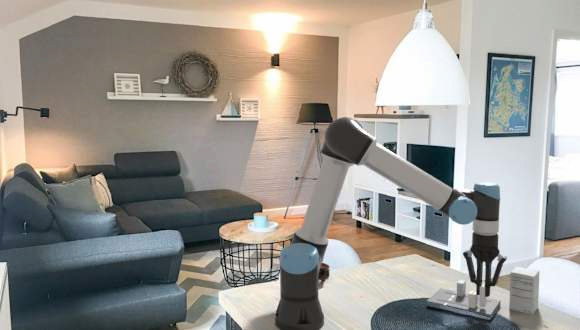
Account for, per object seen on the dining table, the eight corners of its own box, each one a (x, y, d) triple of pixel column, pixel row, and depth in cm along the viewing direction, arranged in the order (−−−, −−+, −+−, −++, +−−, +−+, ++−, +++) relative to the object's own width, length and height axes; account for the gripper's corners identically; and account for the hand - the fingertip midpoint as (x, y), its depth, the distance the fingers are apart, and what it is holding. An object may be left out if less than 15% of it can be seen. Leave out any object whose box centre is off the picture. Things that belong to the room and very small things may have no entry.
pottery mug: (299, 280, 187) (304, 260, 190) (318, 287, 192) (323, 267, 195) (317, 281, 178) (322, 259, 180) (337, 288, 182) (341, 267, 185)
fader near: (474, 308, 152) (475, 294, 152) (468, 307, 153) (468, 293, 153) (477, 305, 155) (478, 291, 154) (471, 303, 156) (471, 290, 156)
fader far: (462, 296, 162) (462, 283, 162) (456, 295, 163) (456, 282, 163) (465, 293, 165) (465, 280, 164) (459, 292, 166) (459, 279, 166)
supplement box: (514, 302, 163) (516, 266, 162) (538, 307, 158) (540, 270, 157) (508, 309, 157) (509, 271, 156) (533, 315, 153) (534, 276, 151)
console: (489, 321, 148) (490, 315, 148) (426, 307, 159) (426, 301, 159) (500, 305, 160) (500, 299, 160) (440, 293, 172) (440, 287, 171)
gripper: (510, 232, 149) (507, 306, 151) (467, 227, 157) (464, 297, 159) (505, 237, 143) (502, 314, 145) (460, 232, 150) (458, 304, 153)
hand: (482, 305), depth 152 cm, fingers closed
